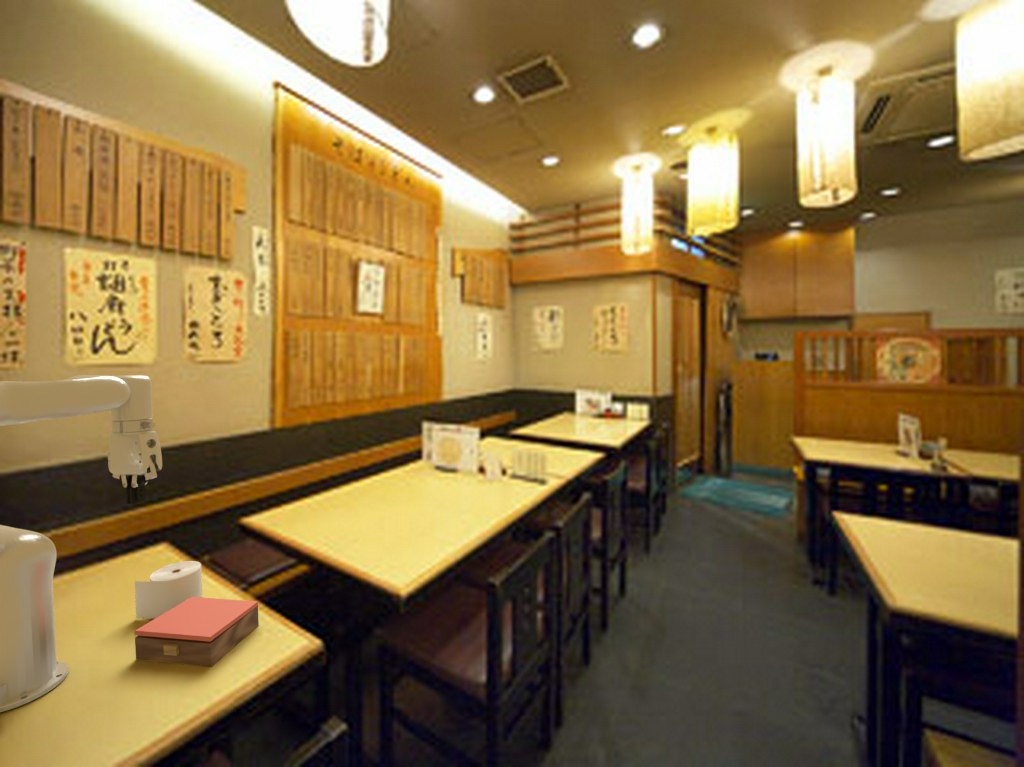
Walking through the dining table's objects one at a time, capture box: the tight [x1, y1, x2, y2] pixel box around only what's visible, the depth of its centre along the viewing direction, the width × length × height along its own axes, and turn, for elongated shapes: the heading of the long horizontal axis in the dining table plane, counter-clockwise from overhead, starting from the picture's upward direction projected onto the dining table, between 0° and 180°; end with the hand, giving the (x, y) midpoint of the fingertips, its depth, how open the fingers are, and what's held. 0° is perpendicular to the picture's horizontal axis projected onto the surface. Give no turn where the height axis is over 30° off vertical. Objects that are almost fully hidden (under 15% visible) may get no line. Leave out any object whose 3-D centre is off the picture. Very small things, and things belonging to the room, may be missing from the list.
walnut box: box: [134, 605, 260, 668], centre depth 96 cm, size 15×18×5 cm
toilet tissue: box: [134, 560, 203, 620], centre depth 109 cm, size 11×12×10 cm
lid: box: [134, 596, 259, 642], centre depth 96 cm, size 14×18×1 cm
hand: (135, 502), depth 100 cm, fingers closed
